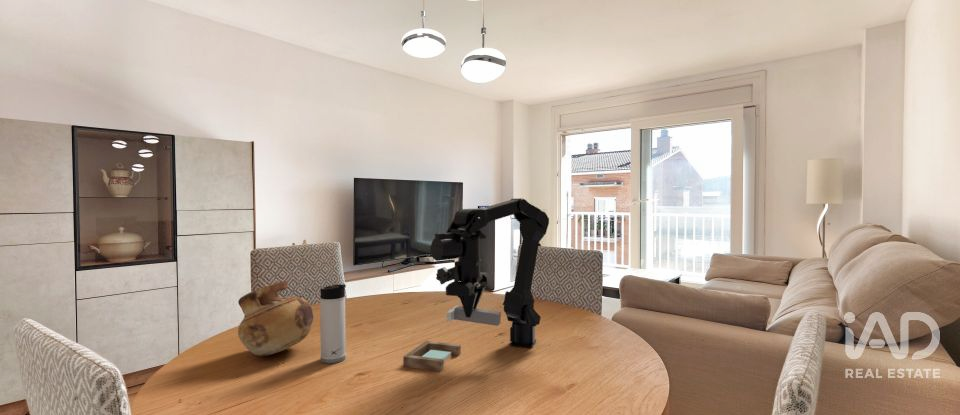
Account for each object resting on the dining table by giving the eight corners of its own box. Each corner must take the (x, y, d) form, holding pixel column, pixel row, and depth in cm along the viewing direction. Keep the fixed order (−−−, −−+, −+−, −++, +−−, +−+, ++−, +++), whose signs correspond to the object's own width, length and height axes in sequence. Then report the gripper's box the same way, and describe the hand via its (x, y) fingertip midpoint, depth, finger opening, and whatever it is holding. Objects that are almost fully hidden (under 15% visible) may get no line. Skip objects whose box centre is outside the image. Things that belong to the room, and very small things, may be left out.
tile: (451, 359, 114) (451, 352, 114) (442, 367, 109) (442, 359, 109) (430, 356, 116) (430, 349, 116) (420, 364, 111) (420, 357, 111)
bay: (460, 353, 117) (460, 344, 117) (441, 371, 105) (441, 361, 105) (426, 349, 121) (426, 340, 121) (403, 366, 109) (403, 356, 109)
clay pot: (271, 340, 130) (270, 274, 130) (327, 344, 126) (326, 276, 126) (221, 363, 111) (220, 287, 111) (284, 369, 107) (283, 289, 107)
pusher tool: (502, 320, 113) (503, 309, 113) (495, 328, 107) (495, 316, 107) (456, 314, 118) (456, 303, 117) (446, 321, 111) (446, 309, 111)
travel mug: (339, 364, 110) (338, 287, 110) (315, 362, 111) (315, 286, 111) (351, 356, 116) (350, 282, 116) (329, 354, 117) (328, 282, 117)
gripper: (453, 251, 124) (454, 305, 124) (425, 261, 106) (426, 323, 106) (490, 252, 120) (491, 307, 120) (467, 262, 102) (469, 327, 103)
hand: (470, 315), depth 113 cm, fingers closed on pusher tool, 2 cm apart
